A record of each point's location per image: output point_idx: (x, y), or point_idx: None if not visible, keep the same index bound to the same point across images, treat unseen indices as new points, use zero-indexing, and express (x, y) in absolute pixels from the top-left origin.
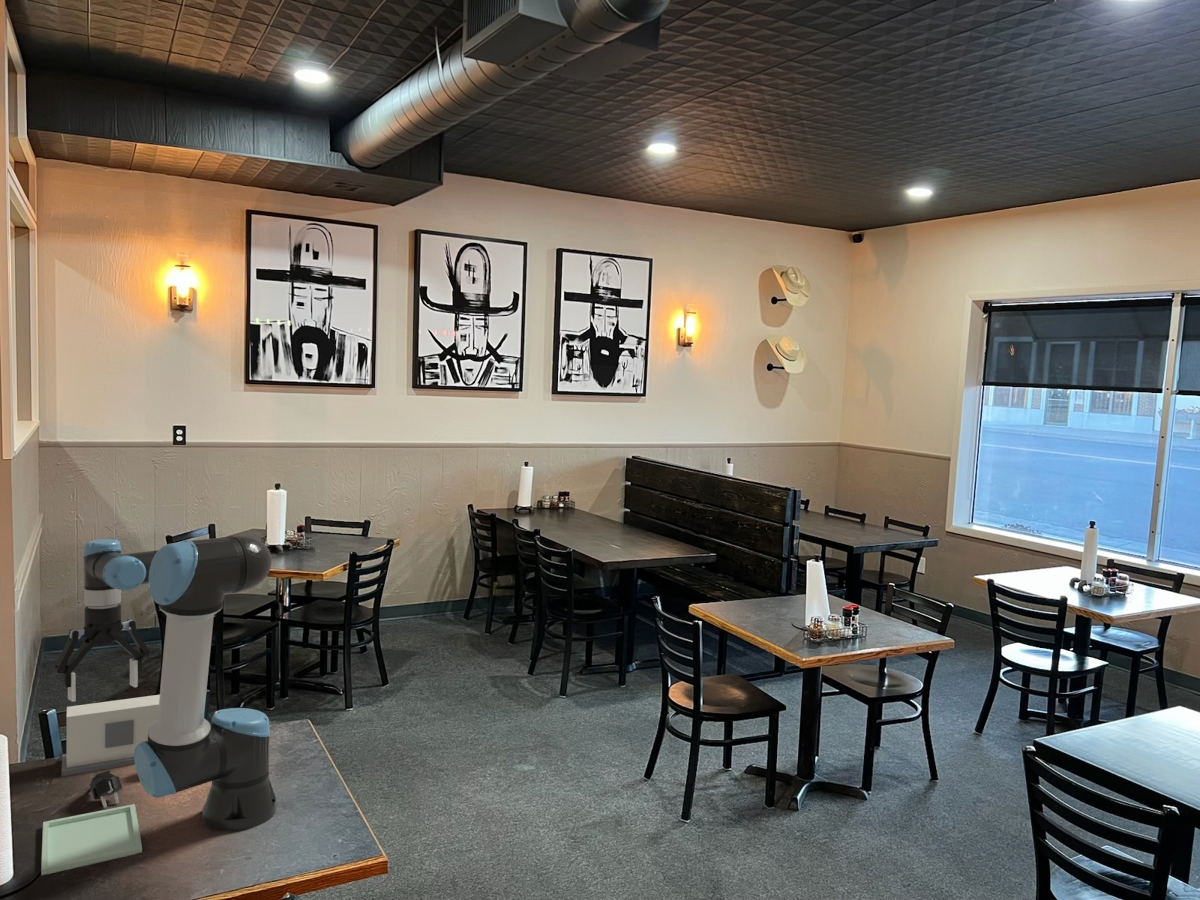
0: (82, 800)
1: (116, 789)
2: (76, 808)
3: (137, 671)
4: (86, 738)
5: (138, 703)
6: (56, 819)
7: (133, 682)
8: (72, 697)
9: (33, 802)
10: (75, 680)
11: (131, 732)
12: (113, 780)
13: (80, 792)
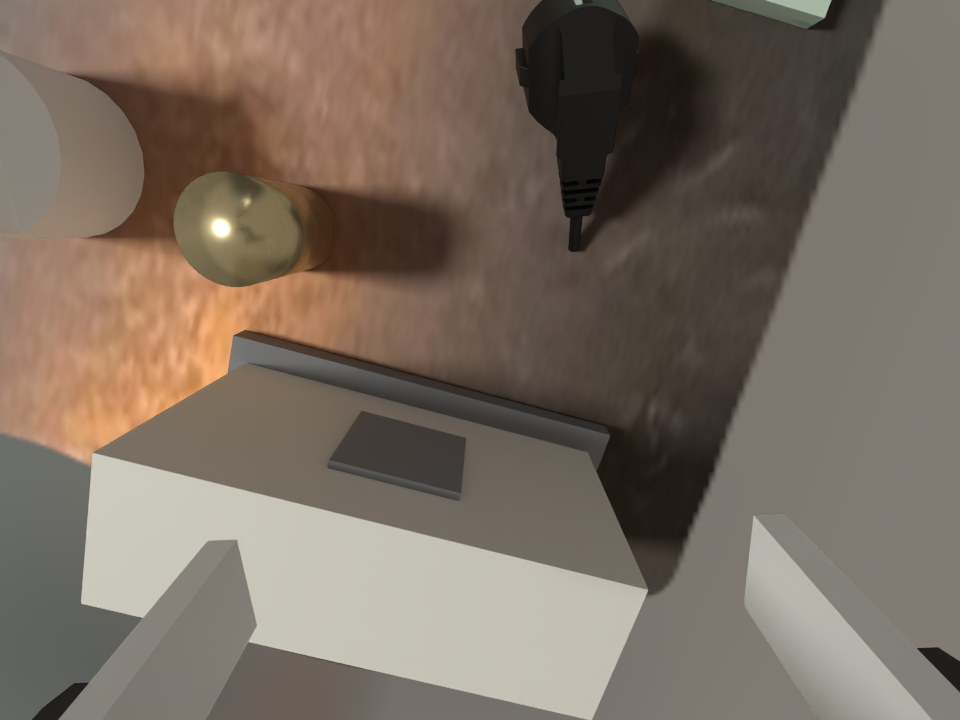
0: (617, 185)
1: (545, 27)
2: (657, 129)
3: (98, 672)
4: (536, 489)
5: (261, 553)
6: (781, 3)
7: (219, 589)
8: (804, 540)
9: (742, 287)
10: (917, 698)
11: (355, 434)
12: (566, 5)
13: (599, 260)
